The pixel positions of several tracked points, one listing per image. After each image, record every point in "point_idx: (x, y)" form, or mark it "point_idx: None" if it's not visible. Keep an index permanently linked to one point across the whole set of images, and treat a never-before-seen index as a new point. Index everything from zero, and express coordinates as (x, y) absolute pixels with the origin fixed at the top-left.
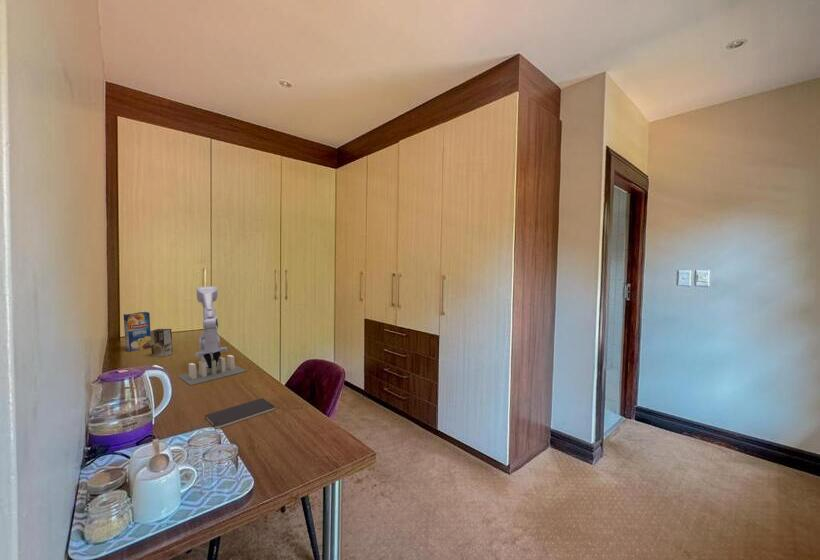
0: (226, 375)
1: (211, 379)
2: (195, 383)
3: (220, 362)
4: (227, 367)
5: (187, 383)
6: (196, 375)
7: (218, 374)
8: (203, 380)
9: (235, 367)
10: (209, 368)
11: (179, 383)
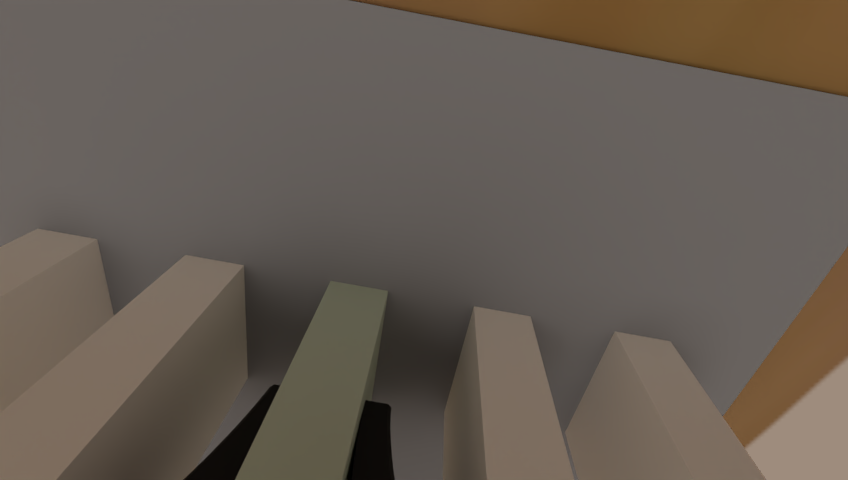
0: (256, 14)
1: (556, 57)
2: (842, 113)
3: (147, 438)
4: None
5: (826, 260)
6: None
7: (329, 216)
8: (655, 144)
9: None
10: None
11: (822, 363)
